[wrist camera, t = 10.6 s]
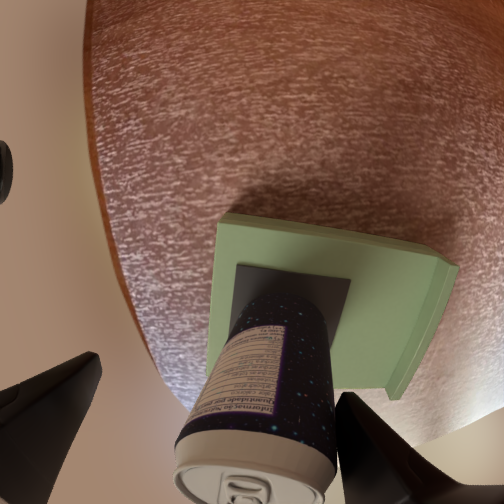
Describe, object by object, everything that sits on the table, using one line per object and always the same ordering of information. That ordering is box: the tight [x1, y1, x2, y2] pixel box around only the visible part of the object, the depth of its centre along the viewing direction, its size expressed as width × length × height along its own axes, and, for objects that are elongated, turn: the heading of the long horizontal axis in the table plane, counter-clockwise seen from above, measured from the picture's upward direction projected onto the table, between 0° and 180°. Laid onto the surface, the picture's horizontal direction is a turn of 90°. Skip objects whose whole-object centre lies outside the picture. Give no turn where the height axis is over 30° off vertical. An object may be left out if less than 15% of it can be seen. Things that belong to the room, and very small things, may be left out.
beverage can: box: [173, 292, 337, 504], centre depth 12 cm, size 6×6×12 cm
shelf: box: [206, 212, 460, 400], centre depth 19 cm, size 16×12×5 cm
